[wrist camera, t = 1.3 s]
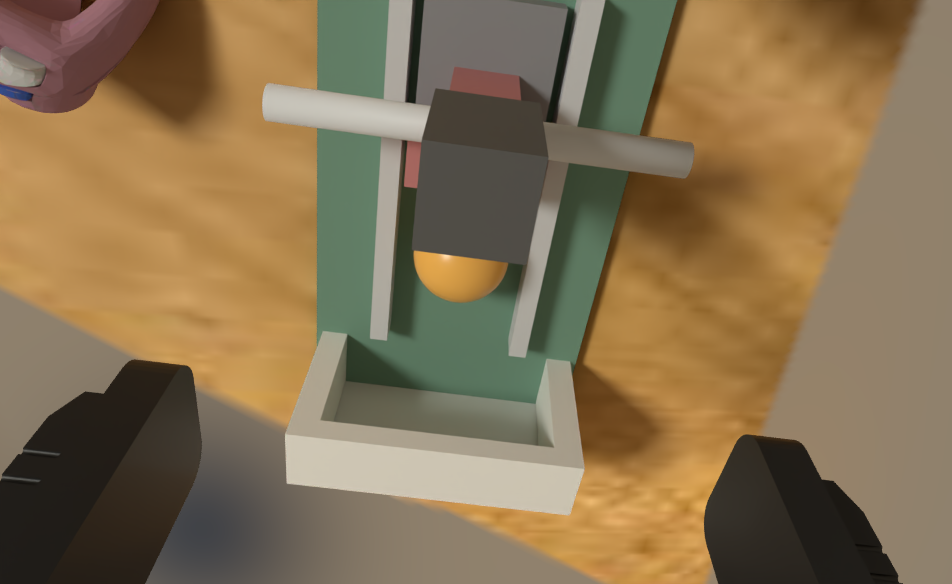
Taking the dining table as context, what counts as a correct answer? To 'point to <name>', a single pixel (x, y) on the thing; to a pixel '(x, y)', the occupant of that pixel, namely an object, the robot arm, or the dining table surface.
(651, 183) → the dining table surface
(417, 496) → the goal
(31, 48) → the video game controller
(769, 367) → the dining table surface
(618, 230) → the dining table surface
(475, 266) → the ball
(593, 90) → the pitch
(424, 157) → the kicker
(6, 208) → the dining table surface
